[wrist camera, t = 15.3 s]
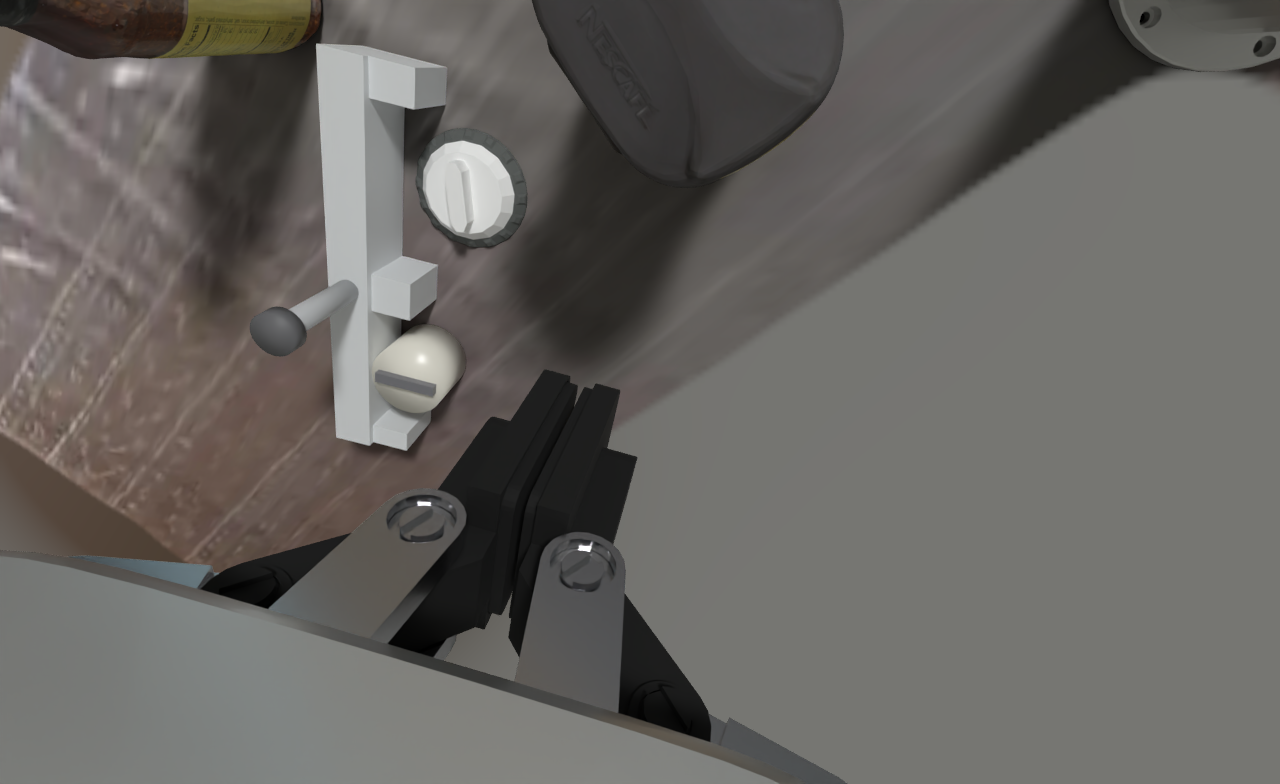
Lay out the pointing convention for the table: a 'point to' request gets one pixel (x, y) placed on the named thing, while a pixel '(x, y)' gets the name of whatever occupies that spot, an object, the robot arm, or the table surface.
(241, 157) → the table surface
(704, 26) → the coffee jar
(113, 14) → the sauce bottle
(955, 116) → the table surface
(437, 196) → the stove knob
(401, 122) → the mount
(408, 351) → the knob slider
